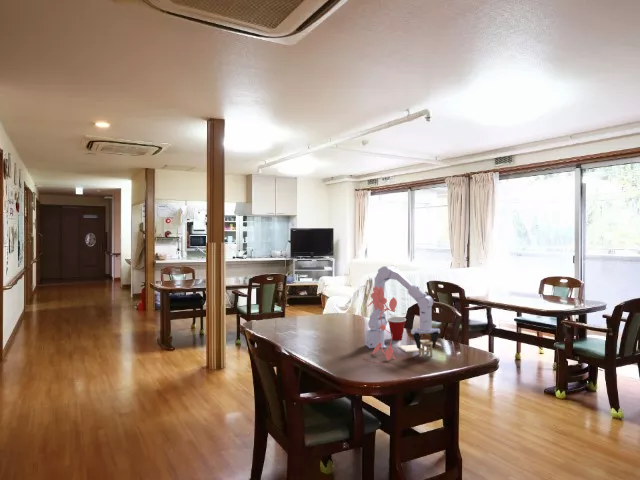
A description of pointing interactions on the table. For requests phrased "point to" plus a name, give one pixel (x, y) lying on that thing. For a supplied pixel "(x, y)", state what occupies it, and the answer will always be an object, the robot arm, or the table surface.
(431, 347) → the stool
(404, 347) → the board
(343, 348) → the table surface
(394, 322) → the plastic cup
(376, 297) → the pink flower plant
